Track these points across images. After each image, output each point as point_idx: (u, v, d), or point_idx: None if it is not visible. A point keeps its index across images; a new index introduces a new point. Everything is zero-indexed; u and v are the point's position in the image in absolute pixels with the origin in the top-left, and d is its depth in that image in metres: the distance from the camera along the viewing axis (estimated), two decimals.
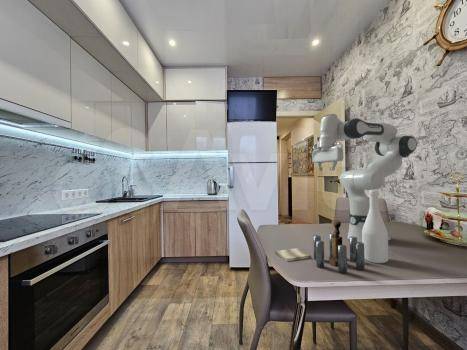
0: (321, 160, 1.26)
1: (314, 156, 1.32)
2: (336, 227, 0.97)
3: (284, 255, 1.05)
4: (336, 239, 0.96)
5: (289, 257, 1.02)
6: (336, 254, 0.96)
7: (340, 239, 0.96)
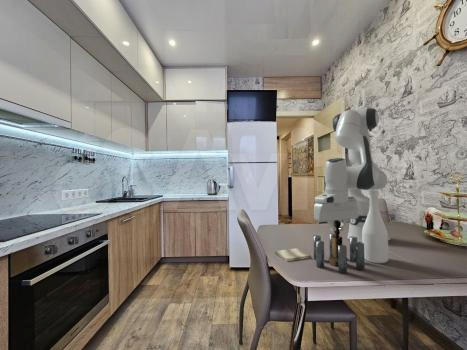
0: (336, 218, 0.95)
1: (323, 213, 0.93)
2: (336, 227, 0.97)
3: (284, 255, 1.05)
4: (336, 239, 0.96)
5: (289, 257, 1.02)
6: (336, 254, 0.96)
7: (340, 239, 0.96)
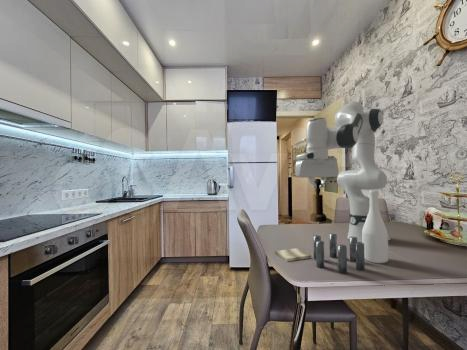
0: (316, 175, 0.99)
1: (304, 169, 0.97)
2: (317, 185, 1.01)
3: (284, 255, 1.05)
4: (317, 196, 1.00)
5: (289, 257, 1.02)
6: (317, 210, 1.00)
7: (320, 196, 1.00)
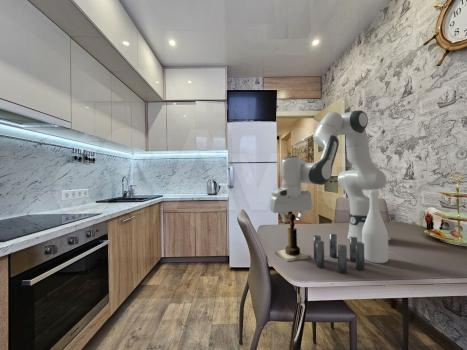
0: (290, 210, 1.06)
1: (278, 205, 1.04)
2: (291, 220, 1.07)
3: (284, 255, 1.05)
4: (291, 231, 1.06)
5: (289, 257, 1.02)
6: (291, 244, 1.06)
7: (294, 230, 1.06)
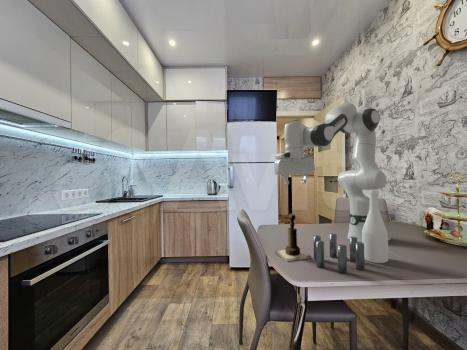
0: (293, 172, 1.09)
1: (282, 167, 1.07)
2: (291, 220, 1.07)
3: (284, 255, 1.05)
4: (291, 231, 1.06)
5: (289, 257, 1.02)
6: (291, 244, 1.06)
7: (294, 230, 1.06)
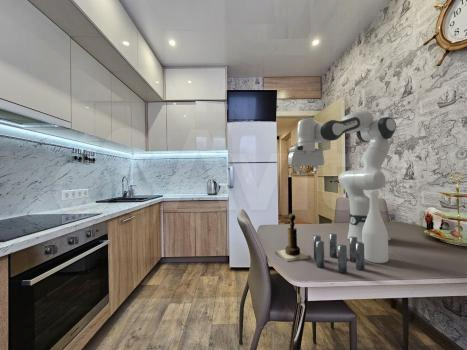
0: (305, 164, 1.22)
1: (295, 158, 1.20)
2: (291, 220, 1.07)
3: (284, 255, 1.05)
4: (291, 231, 1.06)
5: (289, 257, 1.02)
6: (291, 244, 1.06)
7: (294, 230, 1.06)
